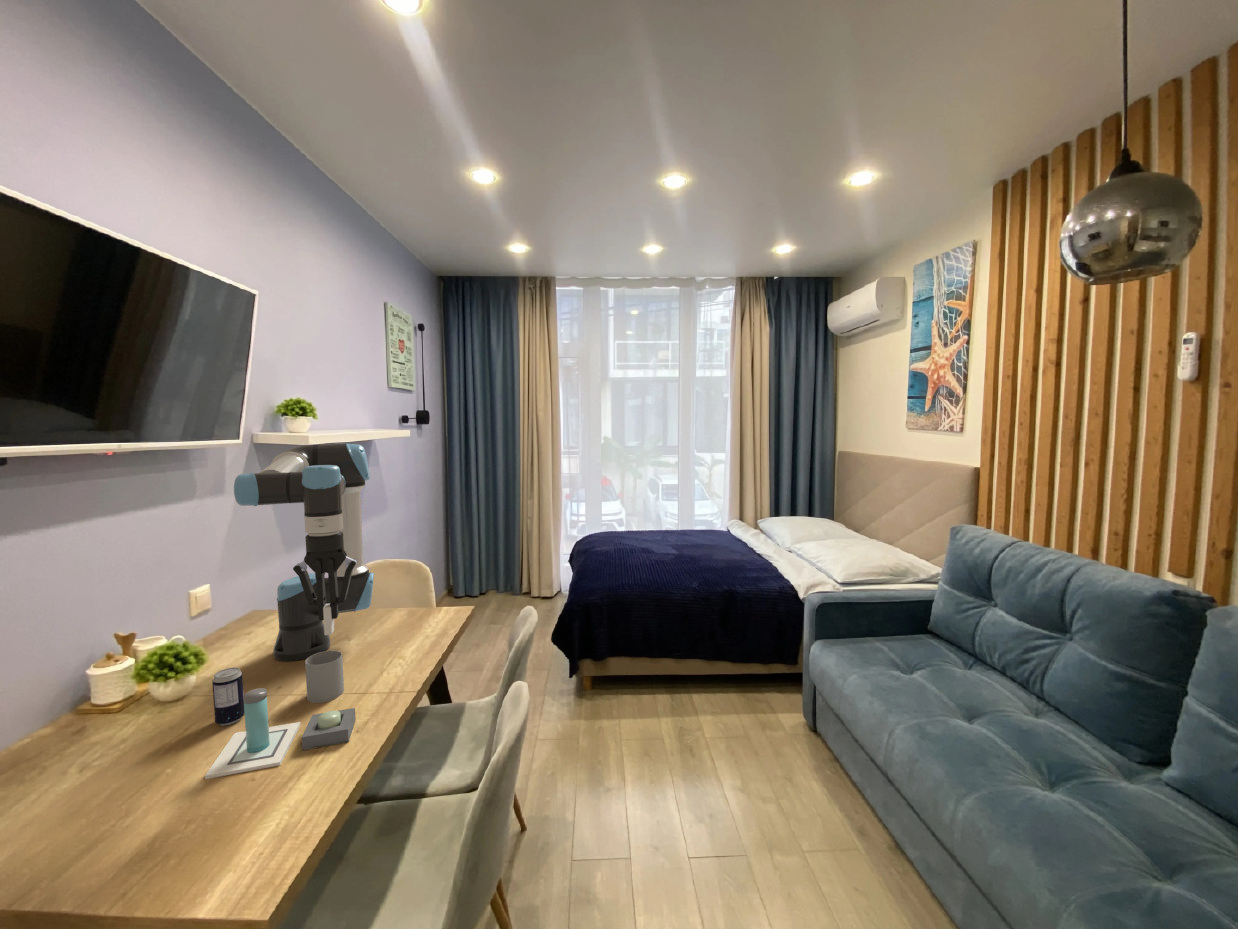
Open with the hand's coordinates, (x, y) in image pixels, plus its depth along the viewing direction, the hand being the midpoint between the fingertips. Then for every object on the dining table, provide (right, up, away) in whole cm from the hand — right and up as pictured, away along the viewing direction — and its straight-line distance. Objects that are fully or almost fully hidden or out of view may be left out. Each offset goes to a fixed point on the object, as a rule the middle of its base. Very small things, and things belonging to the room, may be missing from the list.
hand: (329, 632), depth 117 cm
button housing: (+1, -23, -2) cm, 23 cm away
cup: (-10, -22, +15) cm, 28 cm away
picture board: (-12, -23, -7) cm, 27 cm away
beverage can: (-26, -23, +4) cm, 34 cm away
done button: (+1, -21, -2) cm, 22 cm away
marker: (-11, -22, -8) cm, 26 cm away
